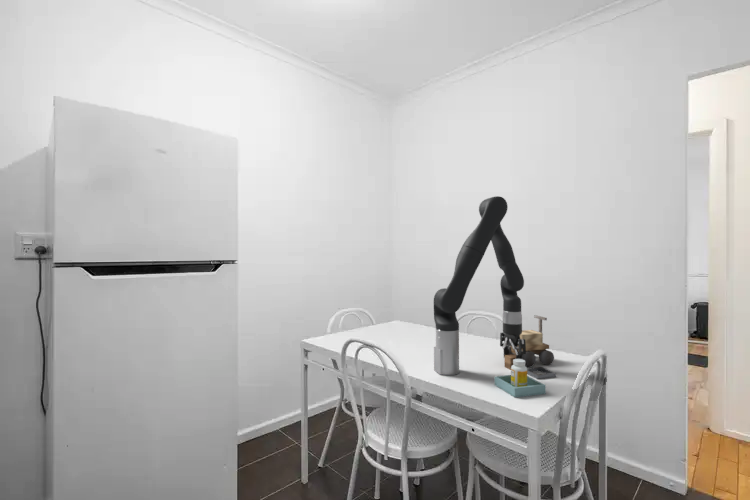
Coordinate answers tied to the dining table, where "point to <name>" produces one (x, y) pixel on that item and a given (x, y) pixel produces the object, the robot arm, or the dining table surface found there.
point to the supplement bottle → (518, 373)
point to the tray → (531, 388)
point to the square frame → (540, 376)
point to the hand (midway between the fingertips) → (512, 360)
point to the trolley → (535, 346)
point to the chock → (509, 361)
